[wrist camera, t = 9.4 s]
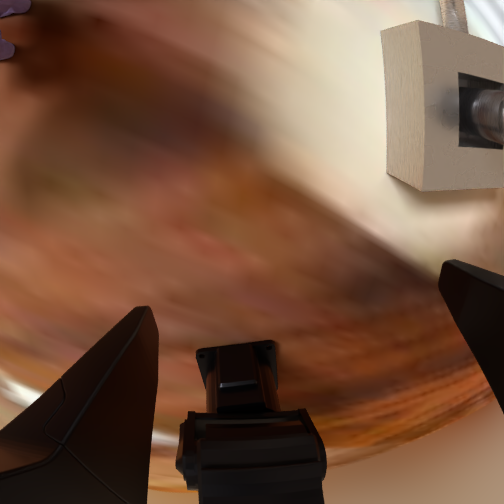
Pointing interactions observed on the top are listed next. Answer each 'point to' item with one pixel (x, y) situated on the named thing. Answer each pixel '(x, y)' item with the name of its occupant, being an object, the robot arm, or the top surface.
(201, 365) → the robot arm
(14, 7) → the toy
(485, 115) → the dark metal cylinder
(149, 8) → the top surface
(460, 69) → the grey holed paddle
